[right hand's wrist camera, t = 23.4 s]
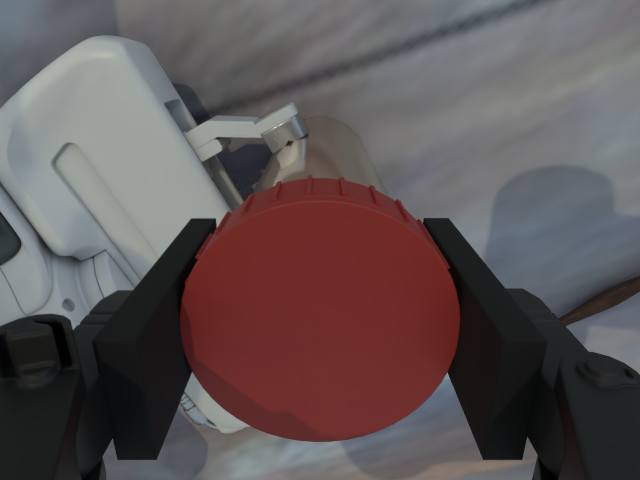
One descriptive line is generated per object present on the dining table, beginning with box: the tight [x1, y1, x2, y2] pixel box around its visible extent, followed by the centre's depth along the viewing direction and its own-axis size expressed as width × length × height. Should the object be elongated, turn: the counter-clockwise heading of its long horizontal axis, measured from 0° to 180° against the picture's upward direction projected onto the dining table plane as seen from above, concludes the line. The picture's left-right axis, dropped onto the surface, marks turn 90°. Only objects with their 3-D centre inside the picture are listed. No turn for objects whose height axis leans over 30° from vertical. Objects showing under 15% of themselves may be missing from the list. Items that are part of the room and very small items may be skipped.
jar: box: [253, 117, 389, 197], centre depth 19 cm, size 6×6×17 cm
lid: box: [179, 175, 460, 442], centre depth 11 cm, size 7×7×2 cm
